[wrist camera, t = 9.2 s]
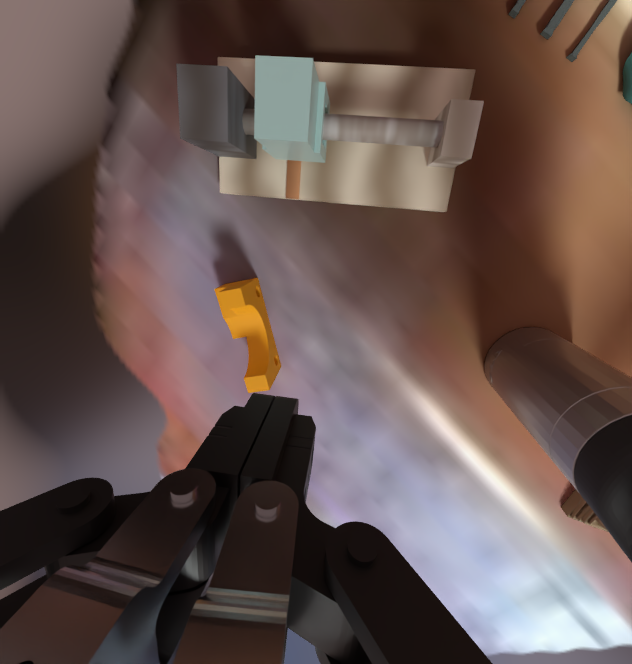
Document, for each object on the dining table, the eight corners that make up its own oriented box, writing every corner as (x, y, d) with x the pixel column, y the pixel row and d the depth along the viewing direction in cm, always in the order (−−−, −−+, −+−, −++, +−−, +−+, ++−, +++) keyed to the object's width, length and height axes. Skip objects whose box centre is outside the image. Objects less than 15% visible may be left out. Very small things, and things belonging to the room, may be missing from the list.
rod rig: (469, 76, 30) (517, 17, 21) (442, 212, 34) (473, 209, 25) (223, 64, 32) (173, 4, 23) (225, 193, 36) (182, 185, 27)
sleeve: (330, 103, 30) (320, 58, 22) (325, 162, 32) (314, 142, 23) (277, 100, 31) (248, 54, 22) (275, 159, 32) (247, 137, 24)
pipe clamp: (225, 283, 40) (202, 295, 34) (257, 277, 39) (240, 287, 33) (250, 370, 44) (234, 394, 38) (281, 365, 43) (269, 389, 37)
